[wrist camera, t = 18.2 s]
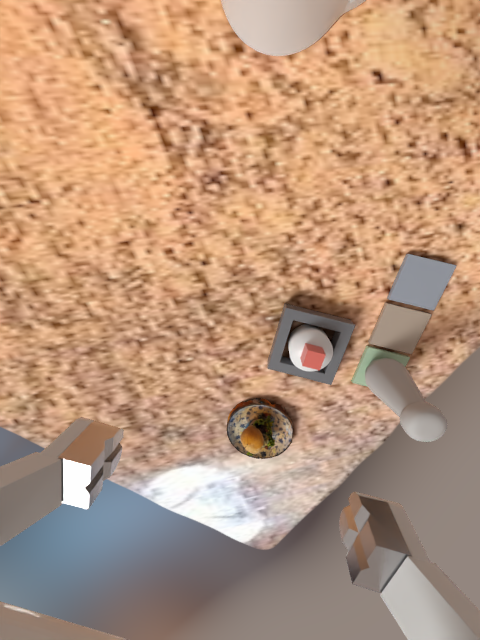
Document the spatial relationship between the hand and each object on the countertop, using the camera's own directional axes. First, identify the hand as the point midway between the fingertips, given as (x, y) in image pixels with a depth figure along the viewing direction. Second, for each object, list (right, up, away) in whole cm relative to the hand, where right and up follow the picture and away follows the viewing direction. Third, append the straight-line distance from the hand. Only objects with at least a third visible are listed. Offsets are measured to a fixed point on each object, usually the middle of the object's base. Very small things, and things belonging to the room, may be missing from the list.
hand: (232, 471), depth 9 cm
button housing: (+11, +2, +31) cm, 33 cm away
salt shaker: (+22, -2, +31) cm, 38 cm away
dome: (+11, +2, +31) cm, 32 cm away
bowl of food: (+4, -14, +38) cm, 40 cm away
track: (+24, +4, +29) cm, 37 cm away
